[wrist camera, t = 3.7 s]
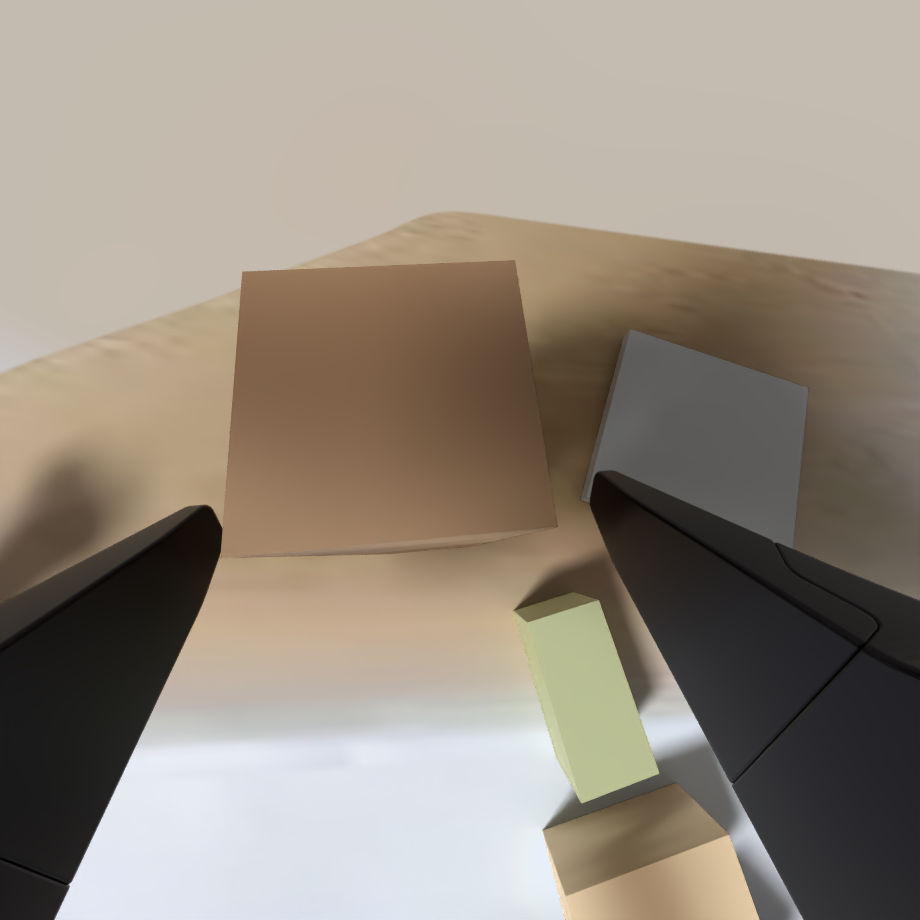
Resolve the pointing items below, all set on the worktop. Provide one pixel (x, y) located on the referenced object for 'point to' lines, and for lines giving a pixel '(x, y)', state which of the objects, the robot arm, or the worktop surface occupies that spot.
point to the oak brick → (648, 863)
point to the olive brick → (584, 695)
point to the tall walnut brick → (383, 413)
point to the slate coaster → (705, 434)
